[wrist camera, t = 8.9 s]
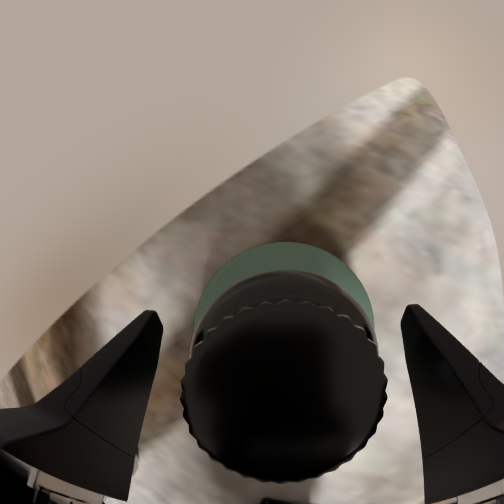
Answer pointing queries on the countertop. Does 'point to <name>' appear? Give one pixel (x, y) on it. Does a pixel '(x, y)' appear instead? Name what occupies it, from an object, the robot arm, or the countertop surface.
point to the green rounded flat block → (283, 259)
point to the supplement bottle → (283, 378)
